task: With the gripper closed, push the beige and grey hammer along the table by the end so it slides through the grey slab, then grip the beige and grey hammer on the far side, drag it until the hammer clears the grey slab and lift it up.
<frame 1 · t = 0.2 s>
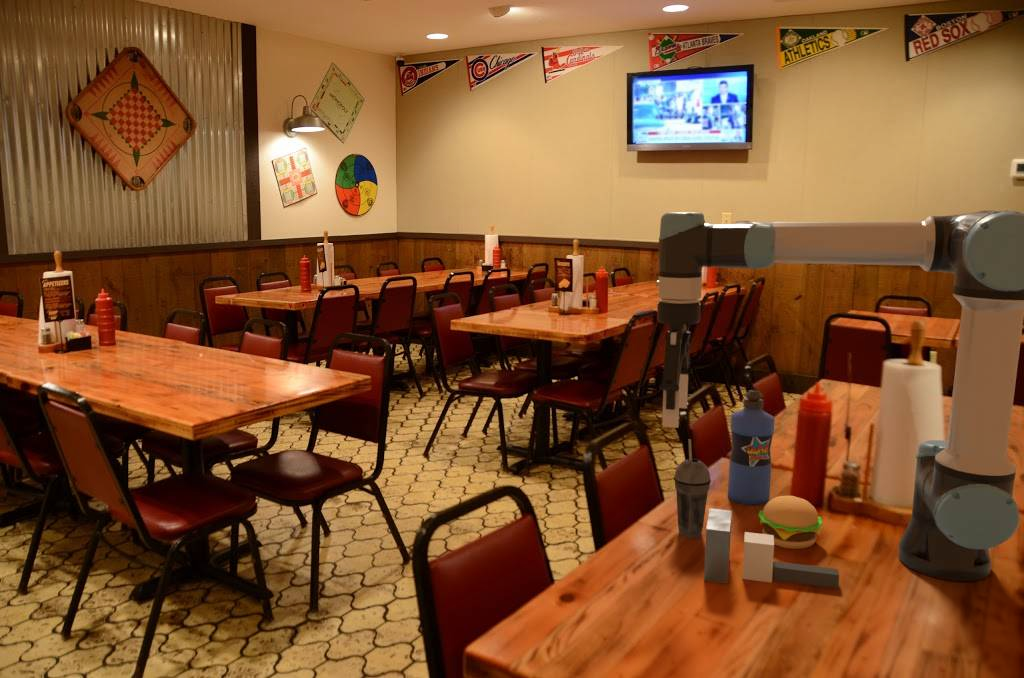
hand: (675, 416, 146), 28 cm above the table, fingers open, 13 cm apart
beige and grey hammer: (757, 575, 145), on the table
beverage cup: (690, 534, 163), on the table
hamburger: (788, 540, 160), on the table
grey slab: (717, 569, 147), on the table
water bottle: (748, 498, 183), on the table
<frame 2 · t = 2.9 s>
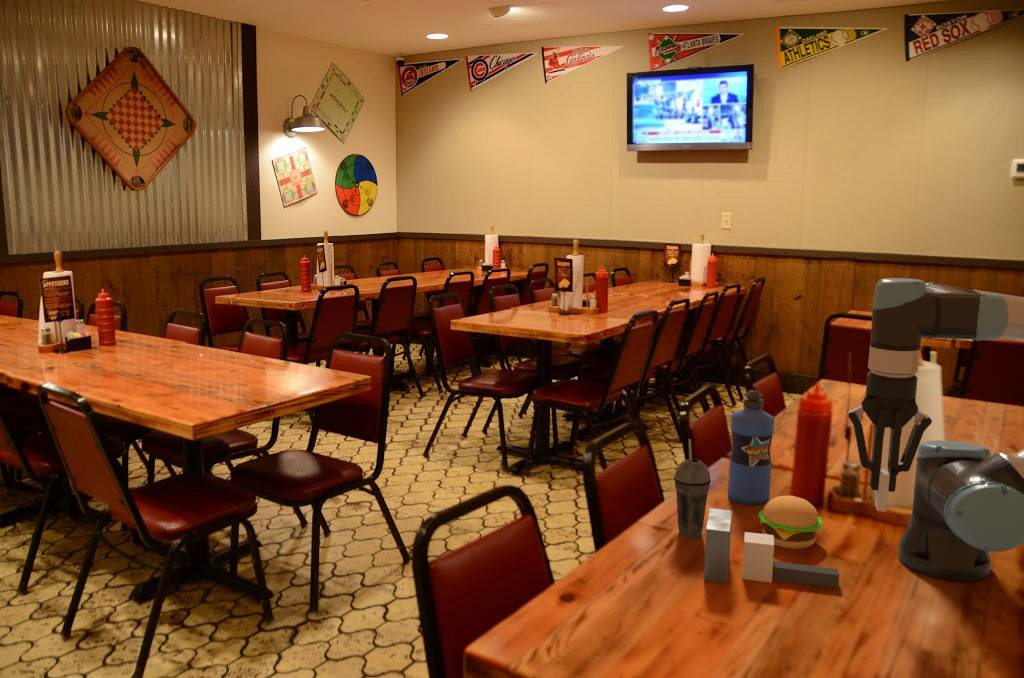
hand: (880, 508, 137), 15 cm above the table, fingers closed
nothing on the table moved.
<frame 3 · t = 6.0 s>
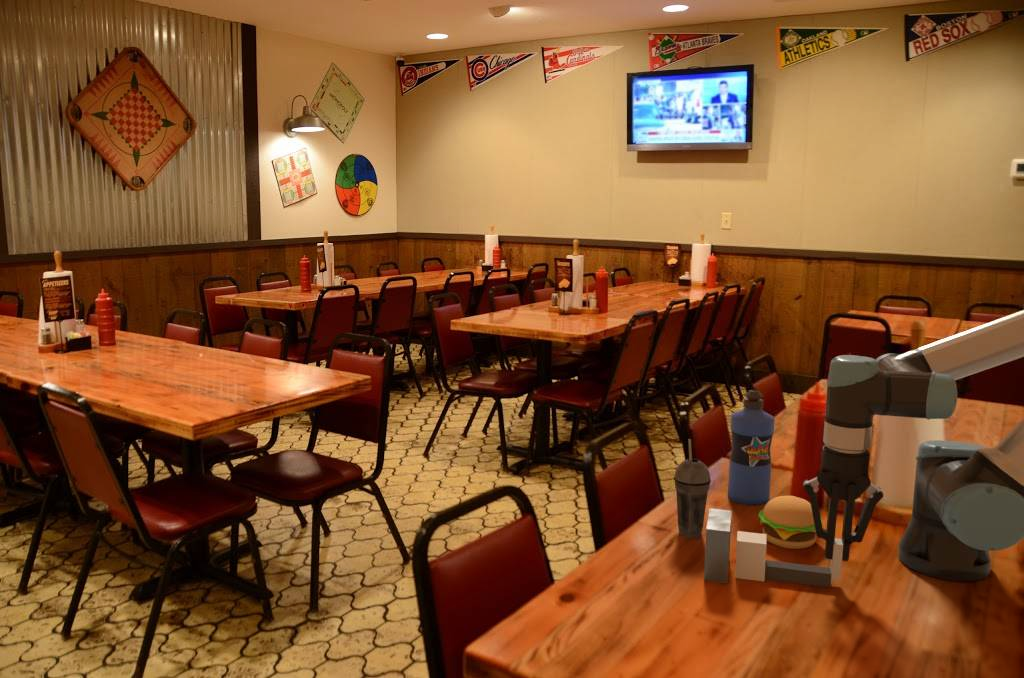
hand: (834, 576, 141), 2 cm above the table, fingers closed
beige and grey hammer: (749, 574, 145), on the table, touching gripper
everything else where it was.
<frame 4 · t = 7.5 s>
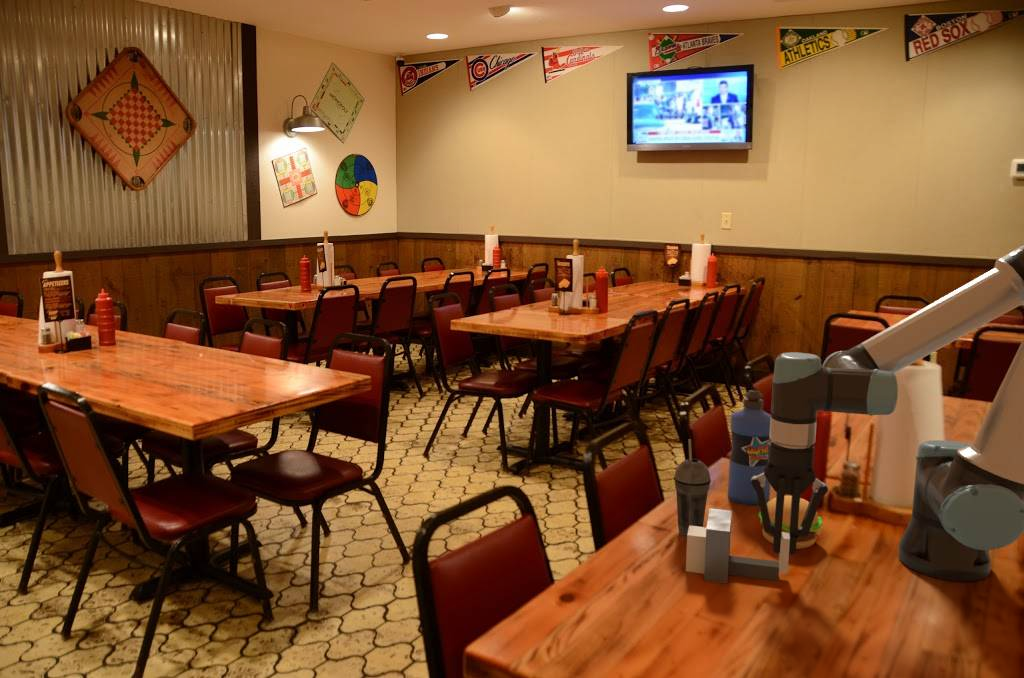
hand: (782, 569, 144), 2 cm above the table, fingers closed
beige and grey hammer: (700, 567, 148), on the table, touching gripper
everything else where it was.
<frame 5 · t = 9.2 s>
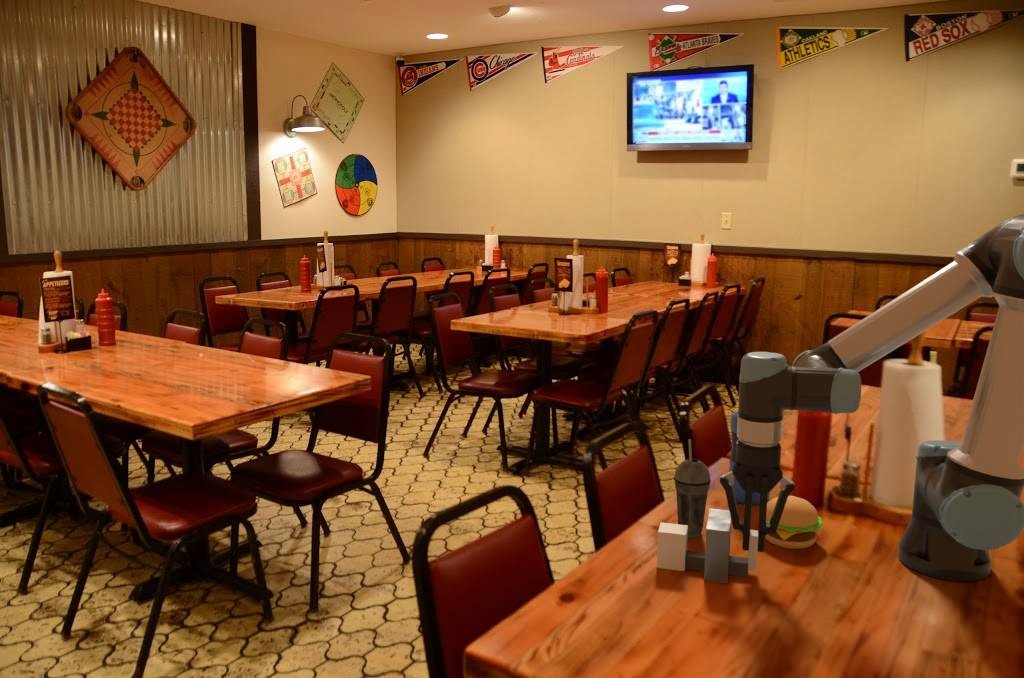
hand: (752, 567, 145), 1 cm above the table, fingers closed
beige and grey hammer: (671, 564, 149), on the table, touching gripper
everything else where it was.
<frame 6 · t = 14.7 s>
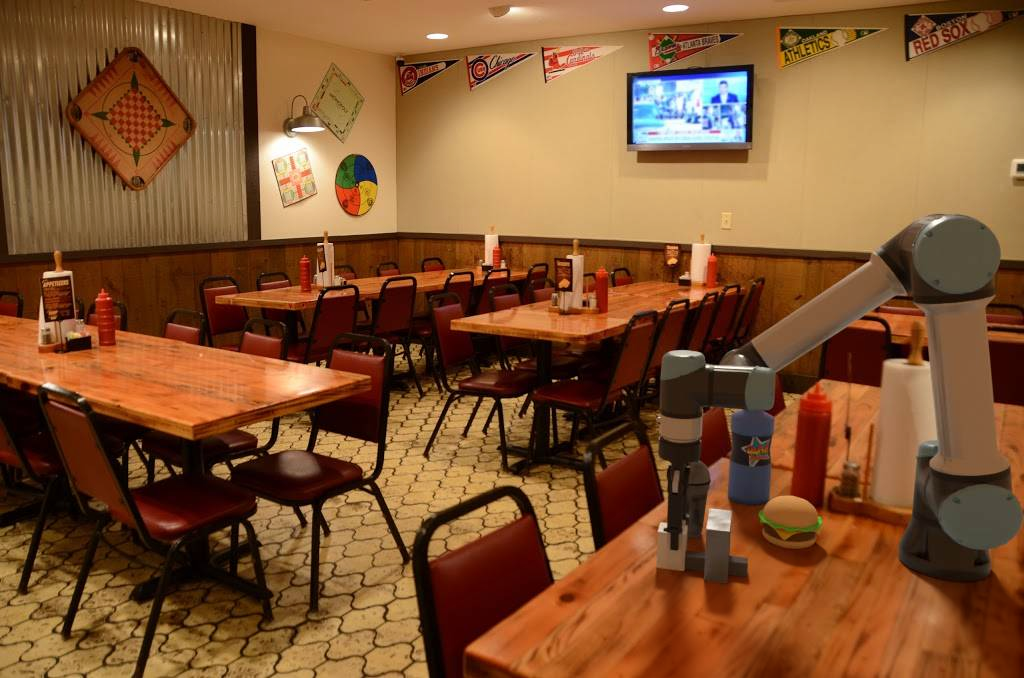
hand: (675, 558, 149), 1 cm above the table, fingers closed on beige and grey hammer, 4 cm apart
beige and grey hammer: (671, 564, 149), on the table, touching gripper
everything else where it was.
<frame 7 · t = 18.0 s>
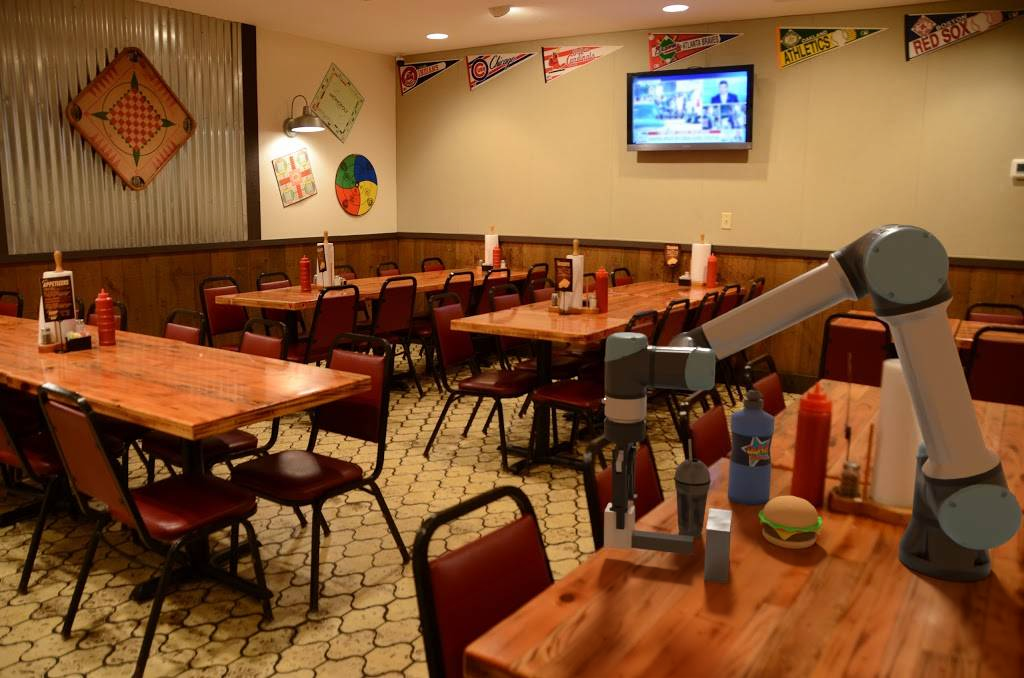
hand: (623, 537, 151), 4 cm above the table, fingers closed on beige and grey hammer, 4 cm apart
beige and grey hammer: (619, 543, 152), point 3 cm above the table, touching gripper
everything else where it was.
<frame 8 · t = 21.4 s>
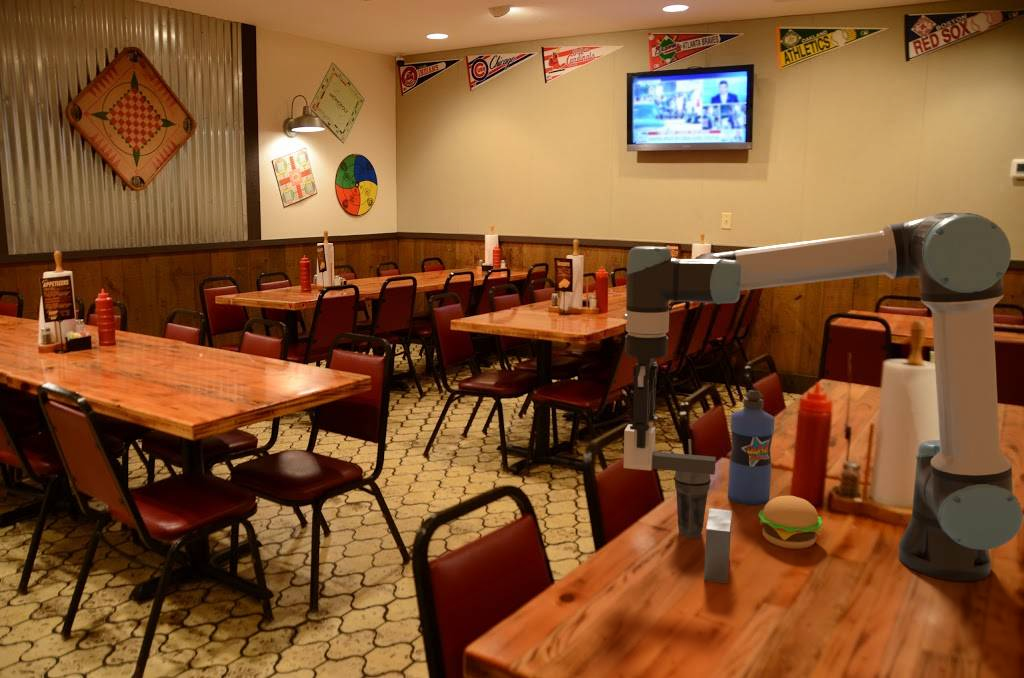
hand: (643, 459, 148), 20 cm above the table, fingers closed on beige and grey hammer, 4 cm apart
beige and grey hammer: (639, 465, 148), point 18 cm above the table, touching gripper
everything else where it was.
at the end: beige and grey hammer inside the target area (2.3 cm from its centre), point 18.4 cm above the table; the gripper is holding beige and grey hammer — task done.
